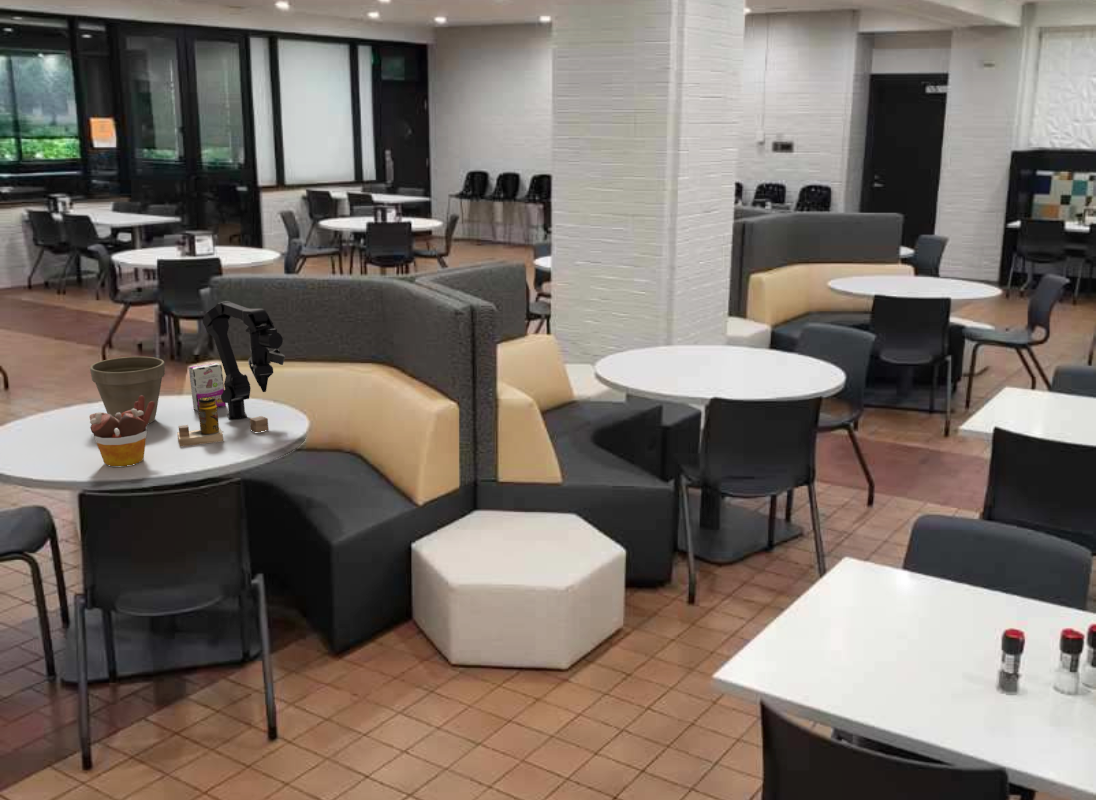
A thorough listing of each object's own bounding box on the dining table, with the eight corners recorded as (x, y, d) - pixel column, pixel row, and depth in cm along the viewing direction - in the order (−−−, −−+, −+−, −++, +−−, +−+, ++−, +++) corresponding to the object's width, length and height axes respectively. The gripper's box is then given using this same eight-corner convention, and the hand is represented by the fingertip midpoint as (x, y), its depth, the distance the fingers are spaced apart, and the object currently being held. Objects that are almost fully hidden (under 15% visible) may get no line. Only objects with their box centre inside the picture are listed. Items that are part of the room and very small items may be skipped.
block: (250, 430, 377) (249, 418, 376) (262, 428, 380) (261, 416, 379) (256, 433, 374) (255, 421, 373) (268, 430, 377) (267, 418, 375)
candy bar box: (220, 404, 413) (216, 362, 409) (226, 406, 409) (222, 364, 405) (192, 409, 406) (188, 366, 402) (197, 411, 403) (193, 368, 398)
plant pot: (182, 422, 389) (175, 363, 384) (113, 436, 373) (105, 374, 368) (153, 409, 407) (147, 352, 402) (86, 422, 391) (79, 363, 386)
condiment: (224, 432, 366) (220, 398, 363) (200, 437, 361) (197, 402, 357) (214, 428, 371) (210, 394, 368) (190, 433, 366) (187, 399, 363)
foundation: (177, 439, 368) (176, 423, 366) (220, 434, 373) (219, 419, 372) (179, 446, 360) (178, 430, 358) (223, 441, 365) (221, 425, 363)
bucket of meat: (113, 474, 332) (105, 412, 327) (82, 465, 342) (74, 404, 336) (168, 457, 348) (162, 398, 343) (138, 449, 357) (131, 391, 352)
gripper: (286, 348, 371) (290, 392, 375) (278, 338, 388) (281, 381, 392) (253, 351, 367) (257, 396, 371) (246, 341, 384) (250, 384, 388)
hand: (262, 389), depth 381 cm, fingers open, 9 cm apart
